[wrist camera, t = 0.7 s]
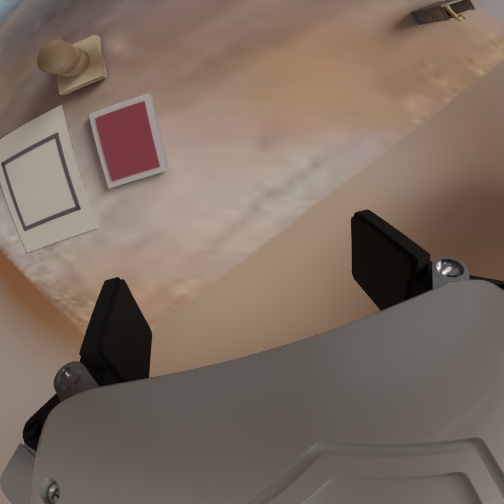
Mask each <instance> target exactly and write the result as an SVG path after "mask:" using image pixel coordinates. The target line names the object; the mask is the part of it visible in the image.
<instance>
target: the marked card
mask: <svg viewBox="0 0 504 504" xmlns="http://www.w3.org/2000/svg"><path fill="white" fill-rule="evenodd" d="M0 183H1V186H2V189H3V193H4V196H5V198H6V201H7V204H8V207H9V210H10V212H11V215H12V218H13V220H14V223H15V225H16V228H17V230H18V233H19V235H20V237H21V240H22V242H23V244H24V247H25V249H26V251H27V253H28V252H31V251H34V250H36V249H39V248H42V247H45V246H47V245H50V244H53V243H56V242H59V241H61V240H64V239H67V238H70V237H73V236H76V235H79V234H82V233H85V232H88V231H91V230H94V229H97V228H98V226H97V223H96V221H95V218H94V215H93V212H92V210H91V207H90V204H89V201H88V198H87V195H86V192H85V189H84V186H83V183H82V180H81V177H80V173H79V170H78V167H77V163H76V160H75V156H74V152H73V149H72V145H71V141H70V137H69V133H68V129H67V124H66V120H65V115H64V111H63V106H62V105H60V106H58V107H56V108H54V109H52V110H50V111H48V112H46V113H44V114H42V115H41V116H39V117H37V118H35V119H33V120H31V121H30V122H28V123H26V124H24V125H23V126H21V127H19V128H18V129H16V130H14V131H13V132H11V133H10V134H8V135H6V136H5V137H3V138H2V139H0Z"/></svg>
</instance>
